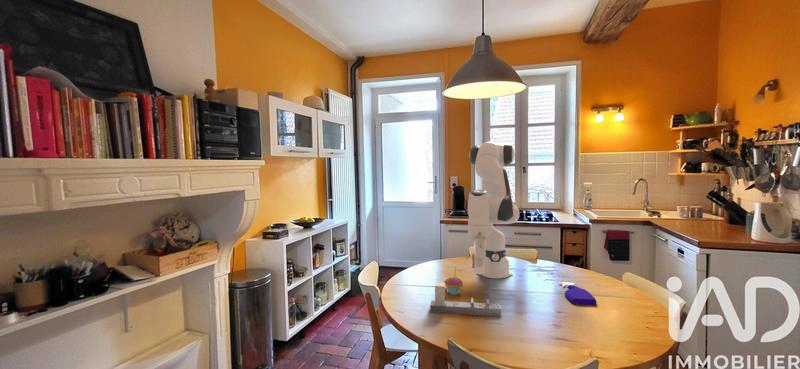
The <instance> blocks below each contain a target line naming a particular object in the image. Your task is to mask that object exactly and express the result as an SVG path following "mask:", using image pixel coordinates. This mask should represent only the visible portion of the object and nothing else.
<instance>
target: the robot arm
mask: <svg viewBox="0 0 800 369" xmlns="http://www.w3.org/2000/svg"><path fill="white" fill-rule="evenodd" d="M515 154H516V153H515V150H514V147H513V145H512V144H511V143H496V142H493V141H486V142H485V141H484V142H483V143H481V144H480V145H479V144H476V145H473V146H472V147H471V148H470V150H469V154H468V155H469V156H468V157H469V160H470V163H471V164H472V165H474V167H475V168H474V169H475V173H476V174H477V175H478V176H479V178H480V179H482V189H475V190H471V191H469V193H468V200H467V204H466V212H467V213H466V214H467V215H468V220H467V234H468V236H470V240H472V243H473V249H474V251H475V256H476V259H477V262H478V267H482V261H483V260H485V274H478V275H479V276H483V277H485V278H490V279H504V278H505V279H506V278H507V277H510V276H513V272H512V271H510V260H509V259H508V258H507V251H506V250H507V249H506V237H505V234H504V233H503V232H502V231H501V230H498V229H497V228H495V227H494V224H495V225H510V224H516V223H517V221H518V220H519V218H520V209H519V207H518V206H517V205H515V204H514V200H513V199H512V192H511V186H510V182H509V177H508V172H507V170H506V169H505V168H504V167H507V165H510V164H512V162H513V161H514V159H515Z"/></svg>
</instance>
